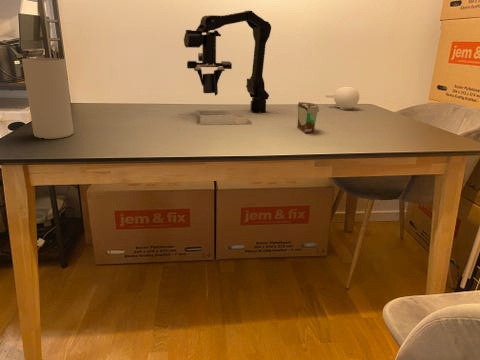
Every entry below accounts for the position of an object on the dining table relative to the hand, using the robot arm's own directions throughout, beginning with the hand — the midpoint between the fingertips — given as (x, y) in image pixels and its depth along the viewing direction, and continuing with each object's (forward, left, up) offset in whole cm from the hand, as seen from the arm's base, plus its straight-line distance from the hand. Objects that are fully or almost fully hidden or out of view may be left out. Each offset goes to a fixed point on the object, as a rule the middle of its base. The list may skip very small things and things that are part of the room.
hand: (209, 85), depth 172 cm
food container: (-36, +31, -13) cm, 49 cm away
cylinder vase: (+56, +34, -13) cm, 67 cm away
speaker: (0, 0, -4) cm, 4 cm away
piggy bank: (-70, -17, -13) cm, 73 cm away
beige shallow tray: (-5, +13, -13) cm, 19 cm away
